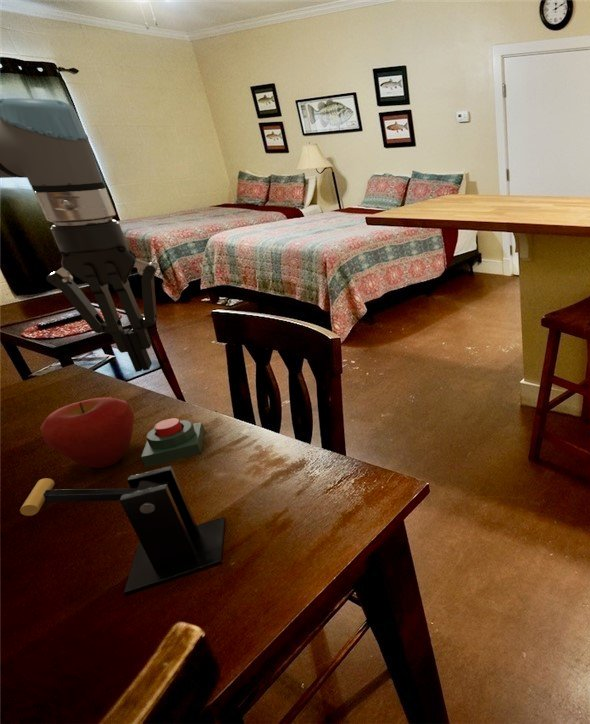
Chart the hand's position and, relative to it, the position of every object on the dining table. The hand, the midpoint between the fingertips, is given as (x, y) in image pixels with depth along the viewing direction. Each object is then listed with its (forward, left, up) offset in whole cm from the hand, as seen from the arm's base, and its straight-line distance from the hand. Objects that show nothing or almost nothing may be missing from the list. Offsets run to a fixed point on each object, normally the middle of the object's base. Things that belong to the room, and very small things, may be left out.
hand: (143, 367), depth 78 cm
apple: (-10, +1, -17) cm, 19 cm away
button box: (0, 0, -16) cm, 16 cm away
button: (0, 0, -13) cm, 13 cm away
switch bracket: (+4, -30, -16) cm, 34 cm away
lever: (-1, -30, -5) cm, 30 cm away
